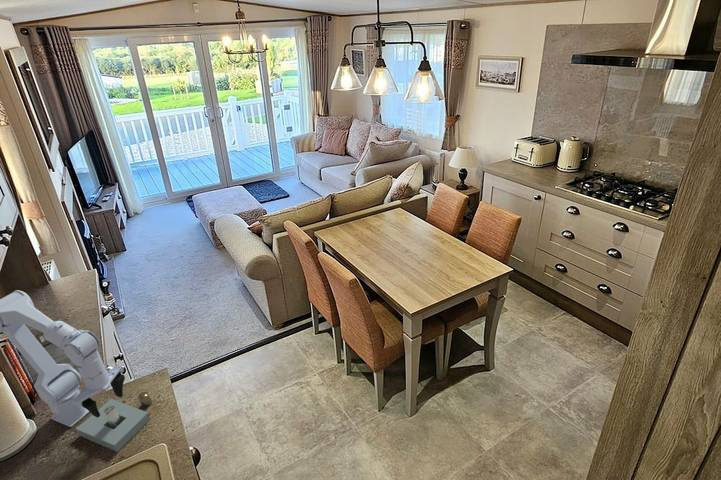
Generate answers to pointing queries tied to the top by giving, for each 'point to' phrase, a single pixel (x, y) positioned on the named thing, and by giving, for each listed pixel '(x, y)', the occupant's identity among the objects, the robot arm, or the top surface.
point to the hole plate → (125, 431)
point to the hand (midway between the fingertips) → (108, 405)
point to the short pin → (145, 399)
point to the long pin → (112, 416)
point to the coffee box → (54, 351)
